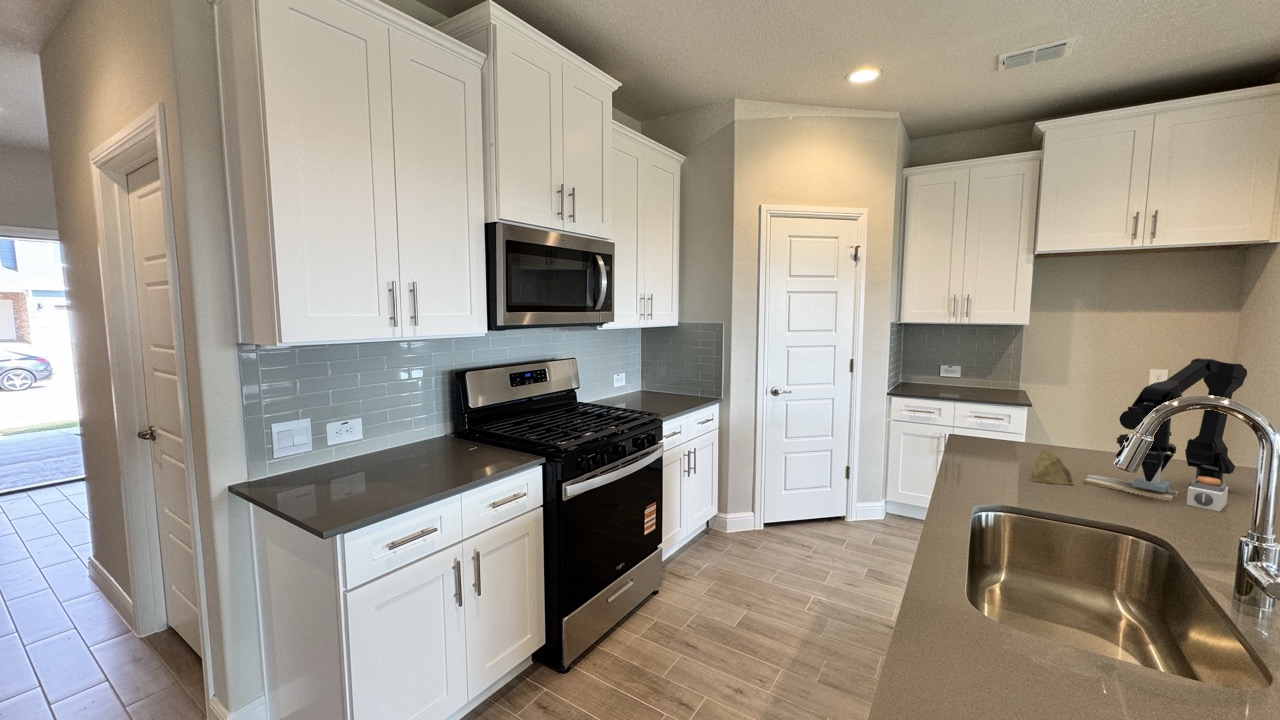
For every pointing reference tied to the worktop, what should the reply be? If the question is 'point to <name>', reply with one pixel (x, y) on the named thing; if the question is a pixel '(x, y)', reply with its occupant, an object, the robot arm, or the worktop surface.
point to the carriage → (1152, 483)
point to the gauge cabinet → (1207, 496)
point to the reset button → (1208, 481)
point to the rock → (1050, 470)
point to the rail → (1129, 487)
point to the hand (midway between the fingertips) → (1152, 478)
